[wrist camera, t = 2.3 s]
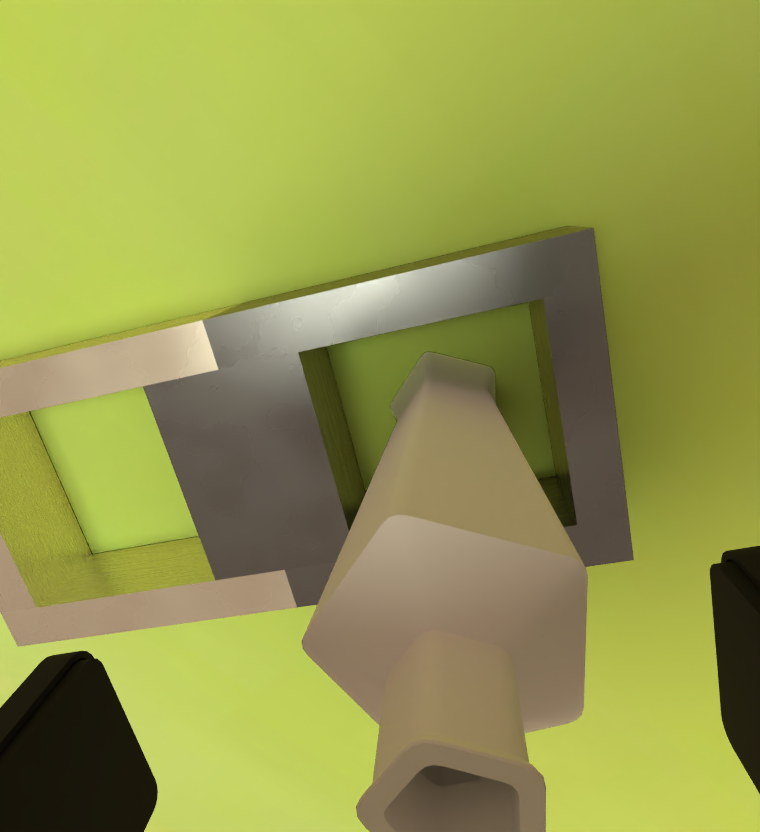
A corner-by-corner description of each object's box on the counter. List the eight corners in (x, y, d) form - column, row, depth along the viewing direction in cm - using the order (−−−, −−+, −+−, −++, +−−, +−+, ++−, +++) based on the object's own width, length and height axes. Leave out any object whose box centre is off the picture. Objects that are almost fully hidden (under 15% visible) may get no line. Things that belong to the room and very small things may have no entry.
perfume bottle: (373, 345, 20) (212, 648, 6) (503, 336, 20) (660, 649, 5) (385, 466, 22) (276, 942, 7) (505, 461, 21) (635, 964, 7)
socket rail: (566, 225, 18) (593, 228, 15) (603, 506, 21) (633, 559, 18) (-28, 367, 22) (-112, 394, 19) (74, 589, 25) (18, 646, 22)
